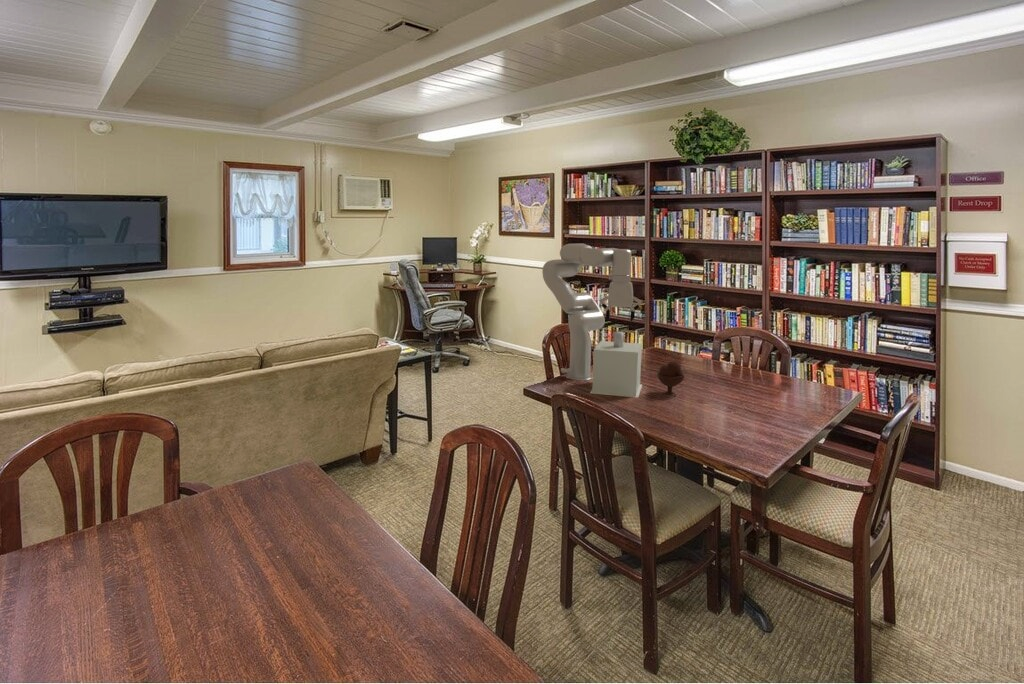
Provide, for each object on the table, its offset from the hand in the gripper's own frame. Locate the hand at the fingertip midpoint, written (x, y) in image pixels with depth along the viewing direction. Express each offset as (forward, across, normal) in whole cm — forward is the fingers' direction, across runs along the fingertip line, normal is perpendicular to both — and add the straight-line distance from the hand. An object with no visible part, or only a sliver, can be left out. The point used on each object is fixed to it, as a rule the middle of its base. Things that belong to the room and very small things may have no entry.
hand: (620, 320), depth 239 cm
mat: (+31, 0, 0) cm, 31 cm away
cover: (+30, 0, 0) cm, 30 cm away
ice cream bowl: (+31, +22, 0) cm, 38 cm away
